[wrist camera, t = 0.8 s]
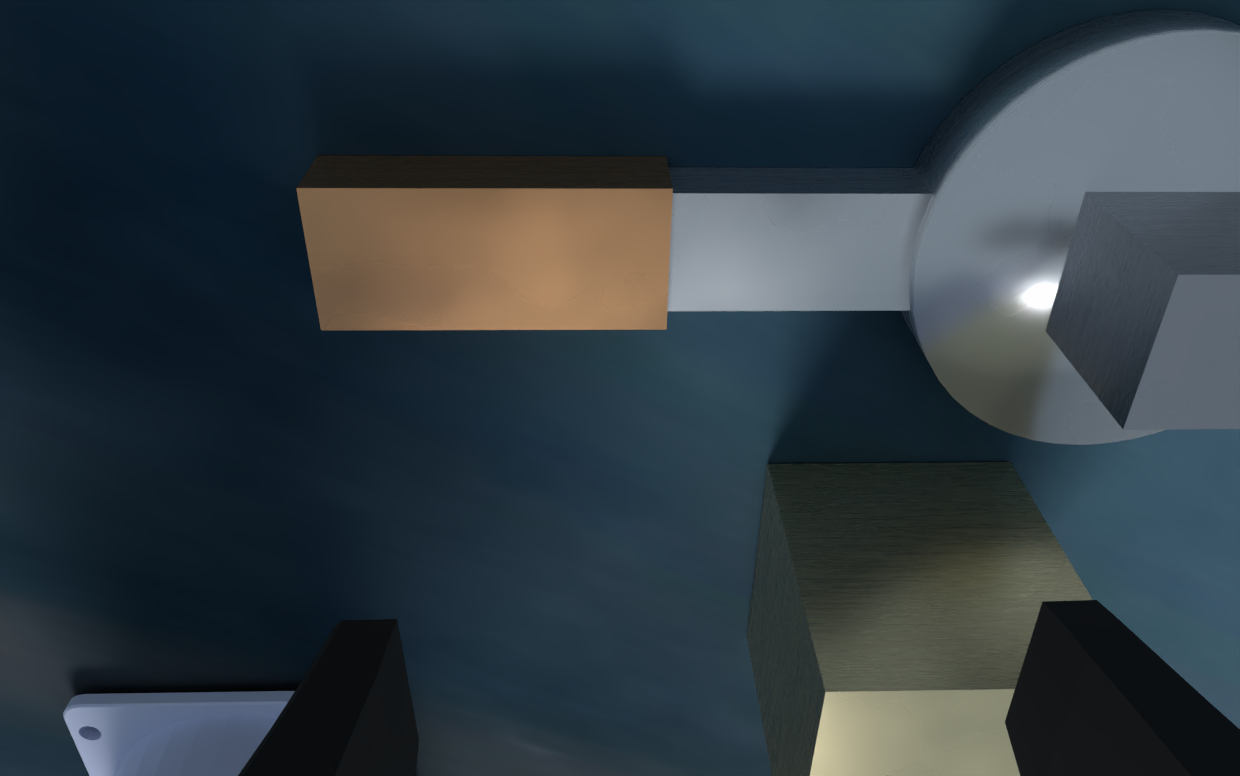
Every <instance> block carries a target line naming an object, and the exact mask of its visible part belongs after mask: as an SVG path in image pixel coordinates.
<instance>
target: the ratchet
mask: <svg viewBox="0 0 1240 776" xmlns="http://www.w3.org/2000/svg"><path fill="white" fill-rule="evenodd" d="M296 190H297V195H298V201H299V207H300V213H301V218H302V224H303V230H304V236H305V241H306V247H307V253H308V259H309V264H310V270H311V276H312V282H313V287H314V293H315V299H316V305H317V310H318V316H319V322H320V328H321V330H640V329H667V311H901V312H902V315H903V317H904V319H905V321H906V323H907V324H908V326H909V328H910V330H911V332H912V333H913V335H914V337H915V339H916V341H917V342H918V344H919V346H920V348H921V350H922V351H923V353H924V355H925V357H926V358H927V360H928V362H929V364H930V366H931V367H932V369H933V371H934V373H935V375H936V376H937V378H938V380H939V381H940V382H941V384H942V385H943V386H944V387H945V389H946V390H947V391H948V392H949V393H950V395H951V396H952V397H953V398H954V399H955V400H956V401H957V402H959V403H960V404H961V405H962V406H963V407H964V408H965V409H966V410H968V411H969V412H970V413H972V414H973V415H975V416H976V417H978V418H980V419H981V420H983V421H984V422H986V423H987V424H989V425H992V426H994V427H996V428H998V429H1001V430H1003V431H1005V432H1007V433H1010V434H1013V435H1017V436H1020V437H1023V438H1027V439H1030V440H1036V441H1042V442H1048V443H1054V444H1073V445H1086V444H1103V443H1111V442H1117V441H1123V440H1130V439H1135V438H1138V437H1142V436H1146V435H1150V434H1154V433H1158V432H1161V431H1164V430H1167V429H1240V26H1239V25H1236V24H1234V23H1232V22H1229V21H1227V20H1225V19H1222V18H1219V17H1215V16H1211V15H1207V14H1202V13H1198V12H1194V11H1183V10H1171V9H1155V10H1138V11H1130V12H1124V13H1119V14H1114V15H1109V16H1104V17H1100V18H1097V19H1094V20H1091V21H1087V22H1084V23H1081V24H1078V25H1075V26H1072V27H1069V28H1067V29H1065V30H1063V31H1061V32H1058V33H1056V34H1054V35H1052V36H1050V37H1047V38H1045V39H1043V40H1041V41H1039V42H1037V43H1036V44H1034V45H1032V46H1031V47H1029V48H1027V49H1026V50H1024V51H1022V52H1020V53H1019V54H1017V55H1015V56H1014V57H1012V58H1011V59H1009V60H1008V61H1007V62H1005V63H1004V64H1003V65H1001V66H1000V67H999V68H997V69H996V70H995V71H993V72H992V73H991V74H989V75H988V76H987V77H985V78H984V79H983V80H982V81H981V82H980V83H979V84H978V85H977V86H976V87H975V88H974V89H972V90H971V91H970V92H969V93H968V94H967V95H966V96H965V97H964V98H963V99H962V100H961V101H960V102H959V103H958V104H957V106H956V107H955V108H954V109H953V110H952V111H951V112H950V114H949V115H948V116H947V117H946V118H945V119H944V121H943V122H942V123H941V124H940V126H939V127H938V129H937V130H936V131H935V133H934V134H933V136H932V137H931V139H930V140H929V142H928V143H927V144H926V146H925V147H924V149H923V151H922V153H921V155H920V156H919V158H918V160H917V162H916V164H915V166H914V168H733V167H668V162H667V157H666V156H385V155H318V156H317V157H316V159H315V160H314V162H313V163H312V165H311V166H310V168H309V169H308V171H307V172H306V174H305V175H304V177H303V178H302V180H301V182H300V183H299V185H298V186H297V188H296Z"/></svg>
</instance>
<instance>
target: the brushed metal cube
mask: <svg viewBox="0 0 1240 776" xmlns="http://www.w3.org/2000/svg"><path fill="white" fill-rule="evenodd" d="M1077 600H1092V598H1091V597H1090V595H1089V593H1088V592H1087V590H1086V588H1085V586H1084V585H1083V583H1082V581H1081V580H1080V578H1079V576H1078V575H1077V573H1076V571H1075V570H1074V568H1073V566H1072V565H1071V563H1070V561H1069V560H1068V558H1067V556H1066V555H1065V553H1064V551H1063V550H1062V548H1061V546H1060V544H1059V543H1058V541H1057V539H1056V538H1055V536H1054V534H1053V533H1052V531H1051V529H1050V528H1049V526H1048V524H1047V523H1046V521H1045V519H1044V518H1043V516H1042V514H1041V513H1040V511H1039V509H1038V507H1037V506H1036V504H1035V502H1034V501H1033V499H1032V497H1031V496H1030V494H1029V492H1028V491H1027V489H1026V487H1025V486H1024V484H1023V482H1022V481H1021V479H1020V477H1019V476H1018V474H1017V472H1016V471H1015V469H1014V467H1013V465H1012V464H1011V462H955V463H818V464H767V472H766V480H765V489H764V497H763V506H762V514H761V522H760V531H759V539H758V548H757V556H756V564H755V573H754V581H753V590H752V598H751V606H750V615H749V623H748V632H747V640H748V646H749V651H750V657H751V662H752V667H753V673H754V678H755V684H756V689H757V695H758V700H759V706H760V711H761V717H762V722H763V728H764V733H765V739H766V744H767V750H768V755H769V761H770V766H771V772H772V776H1020V773H1019V770H1018V766H1017V763H1016V759H1015V756H1014V752H1013V749H1012V745H1011V742H1010V739H1009V735H1008V732H1007V728H1006V725H1005V720H1006V716H1007V713H1008V710H1009V707H1010V704H1011V700H1012V697H1013V694H1014V691H1015V688H1016V684H1017V681H1018V678H1019V675H1020V672H1021V668H1022V665H1023V662H1024V659H1025V656H1026V653H1027V649H1028V646H1029V643H1030V640H1031V637H1032V633H1033V630H1034V627H1035V624H1036V621H1037V617H1038V614H1039V611H1040V608H1041V605H1042V601H1077Z"/></svg>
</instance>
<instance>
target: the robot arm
mask: <svg viewBox="0 0 1240 776" xmlns="http://www.w3.org/2000/svg"><path fill="white" fill-rule="evenodd" d="M63 715H64V720H65V722H66V724H67V726H68V729H69V731H70V733H71V735H72V738H73V740H74V742H75V744H76V747H77V749H78V751H79V753H80V756H81V758H82V760H83V762H84V764H85V767H86V769H87V771H88V773H89V776H415V771H416V761H417V751H418V741H419V739H418V733H417V728H416V722H415V717H414V711H413V706H412V700H411V694H410V689H409V683H408V678H407V672H406V667H405V661H404V656H403V650H402V645H401V639H400V633H399V628H398V622H397V619H384V620H348V621H341V622H340V623H339V624H337V625H336V626H335V627H334V628H333V629H332V631H331V633H330V634H329V636H328V638H327V640H326V641H325V643H324V645H323V646H322V648H321V650H320V651H319V653H318V655H317V656H316V658H315V660H314V661H313V663H312V665H311V666H310V668H309V670H308V671H307V673H306V674H305V676H304V678H303V679H302V681H301V682H300V684H299V686H298V687H297V689H296V690H295V691H248V692H179V693H110V694H82V695H77V696H75V697H73V698H71V700H70V702H69V703H68V705H67V707H66V709H65V711H64V713H63ZM1005 725H1006V728H1007V732H1008V735H1009V739H1010V742H1011V745H1012V749H1013V752H1014V756H1015V759H1016V763H1017V766H1018V770H1019V773H1020V776H1240V729H1238V728H1237V727H1236V726H1235V725H1234V724H1233V723H1232V722H1231V721H1229V720H1228V719H1227V718H1226V717H1225V716H1224V715H1223V714H1222V713H1221V712H1219V711H1218V710H1217V709H1216V708H1215V707H1214V706H1213V705H1212V704H1210V703H1209V702H1208V701H1207V700H1206V699H1205V698H1204V697H1203V696H1202V695H1201V694H1199V693H1198V692H1197V691H1196V690H1195V689H1194V688H1193V687H1192V686H1191V685H1190V684H1188V683H1187V682H1186V681H1185V680H1184V679H1183V678H1182V677H1181V676H1180V675H1179V674H1178V673H1176V672H1175V671H1174V670H1173V669H1172V668H1171V667H1170V666H1169V665H1168V664H1167V663H1165V662H1164V661H1163V660H1162V659H1161V658H1160V657H1159V656H1158V655H1157V654H1156V653H1155V652H1154V651H1152V650H1151V649H1150V648H1149V647H1148V646H1147V645H1146V644H1145V643H1144V642H1143V641H1142V640H1140V639H1139V638H1138V637H1137V636H1136V635H1135V634H1134V633H1133V632H1132V631H1131V630H1130V629H1128V628H1127V627H1126V626H1125V625H1124V624H1123V623H1122V622H1121V621H1120V620H1119V619H1117V618H1116V617H1115V616H1114V615H1113V614H1112V613H1111V612H1110V611H1108V610H1107V609H1106V608H1105V607H1104V606H1103V605H1102V604H1100V603H1099V602H1098V601H1097V600H1077V601H1042V605H1041V608H1040V611H1039V614H1038V617H1037V621H1036V624H1035V627H1034V630H1033V633H1032V637H1031V640H1030V643H1029V646H1028V649H1027V653H1026V656H1025V659H1024V662H1023V665H1022V668H1021V672H1020V675H1019V678H1018V681H1017V684H1016V688H1015V691H1014V694H1013V697H1012V700H1011V704H1010V707H1009V710H1008V713H1007V716H1006V720H1005Z"/></svg>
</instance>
